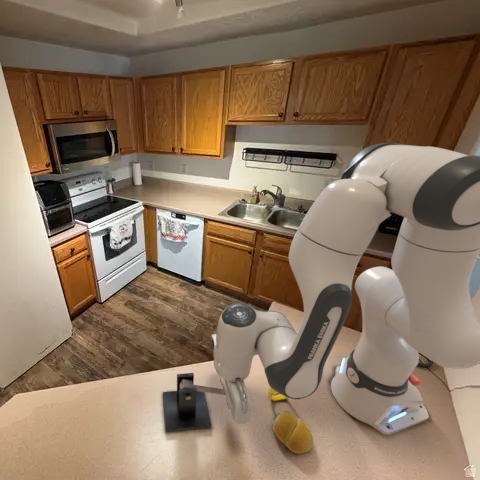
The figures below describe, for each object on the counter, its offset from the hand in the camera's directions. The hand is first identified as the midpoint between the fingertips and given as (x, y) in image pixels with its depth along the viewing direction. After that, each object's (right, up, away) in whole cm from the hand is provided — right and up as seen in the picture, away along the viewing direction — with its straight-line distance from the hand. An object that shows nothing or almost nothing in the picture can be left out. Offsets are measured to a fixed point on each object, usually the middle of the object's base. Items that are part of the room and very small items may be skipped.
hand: (227, 394), depth 70 cm
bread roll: (+15, -8, -3) cm, 18 cm away
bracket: (-11, -6, +2) cm, 13 cm away
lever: (-6, +1, -1) cm, 7 cm away
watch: (+16, -4, +4) cm, 17 cm away
